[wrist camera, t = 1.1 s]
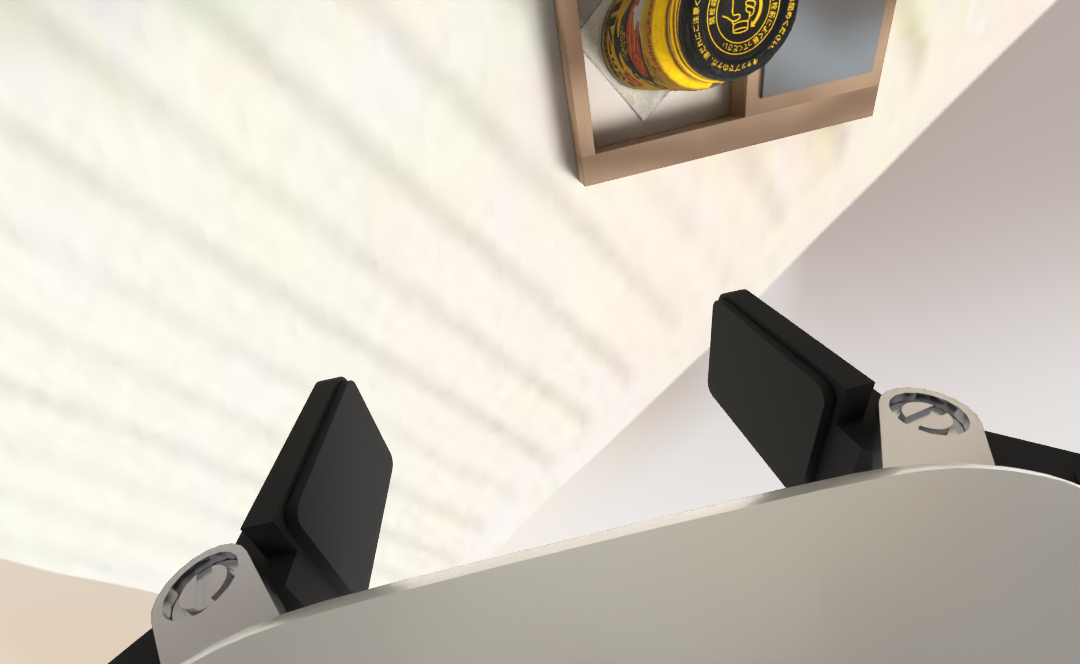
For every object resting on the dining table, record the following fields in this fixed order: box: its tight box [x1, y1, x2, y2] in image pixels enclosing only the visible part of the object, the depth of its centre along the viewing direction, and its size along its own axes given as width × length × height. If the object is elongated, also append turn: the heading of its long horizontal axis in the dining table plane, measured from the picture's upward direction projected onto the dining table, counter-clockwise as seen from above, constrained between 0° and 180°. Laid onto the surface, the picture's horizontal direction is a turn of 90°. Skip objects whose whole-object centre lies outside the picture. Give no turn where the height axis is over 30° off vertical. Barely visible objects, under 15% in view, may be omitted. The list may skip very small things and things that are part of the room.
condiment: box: [581, 0, 799, 121], centre depth 22 cm, size 7×8×12 cm
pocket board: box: [553, 0, 896, 187], centre depth 26 cm, size 17×22×2 cm
